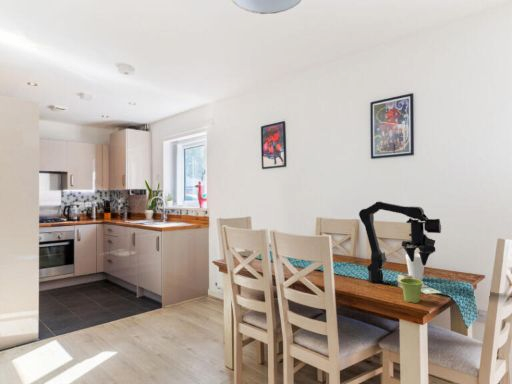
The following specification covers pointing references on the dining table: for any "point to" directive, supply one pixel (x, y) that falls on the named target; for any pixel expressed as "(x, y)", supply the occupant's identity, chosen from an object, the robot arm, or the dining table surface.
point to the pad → (429, 290)
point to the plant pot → (411, 289)
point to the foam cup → (415, 267)
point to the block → (403, 276)
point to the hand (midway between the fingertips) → (418, 263)
